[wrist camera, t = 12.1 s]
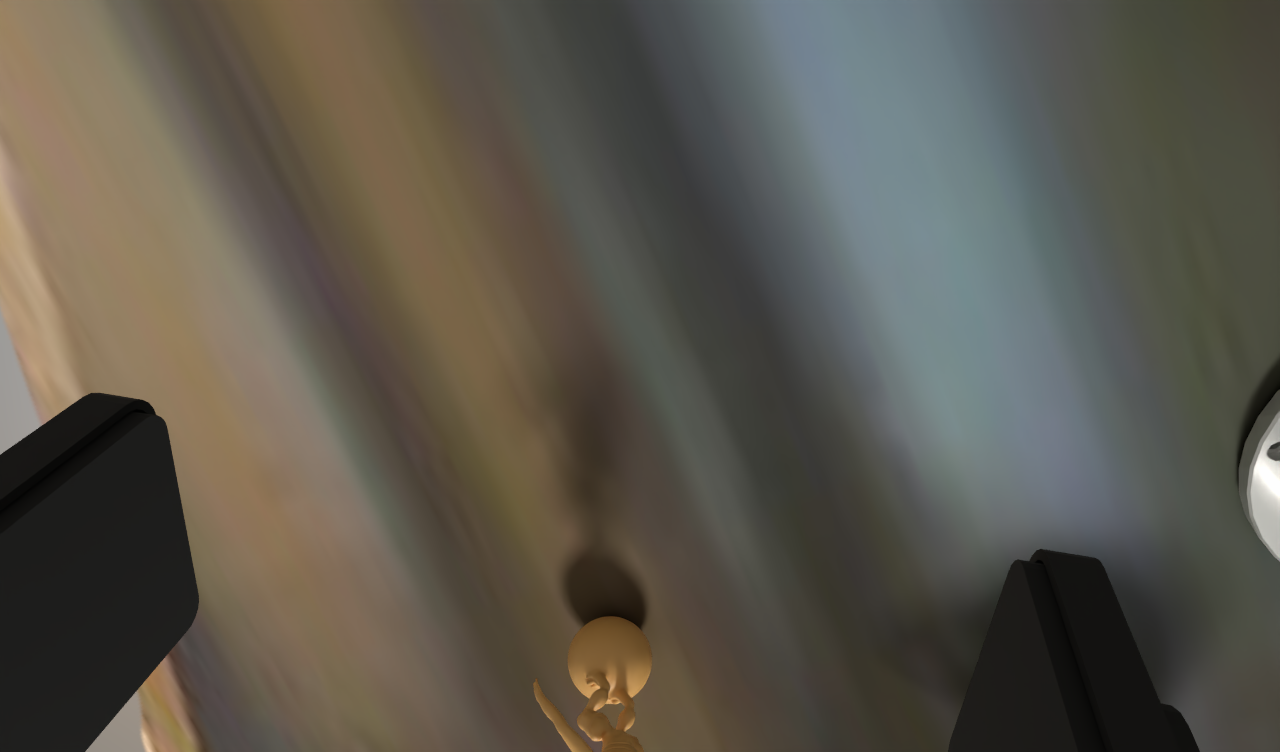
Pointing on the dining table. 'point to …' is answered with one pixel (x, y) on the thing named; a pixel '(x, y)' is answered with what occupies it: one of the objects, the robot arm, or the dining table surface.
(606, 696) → the figurine
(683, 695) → the dining table surface
